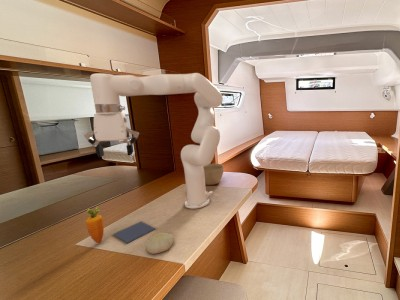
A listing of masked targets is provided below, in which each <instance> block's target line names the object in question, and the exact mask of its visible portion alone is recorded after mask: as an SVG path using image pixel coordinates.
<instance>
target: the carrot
mask: <svg viewBox="0 0 400 300" xmlns="http://www.w3.org/2000/svg"><path fill="white" fill-rule="evenodd" d="M86 212H87V213H88V217H87V219H85V226H86V229H87V231H88V233H89V236H90V238H91V239H92V240H93V242H94V243H96V244H99V245H100V244H101V243H102V241H103V238H104V233H105V231H104V230H105V226H104V219H103V218H104V217H103V215H102V214H98V213H99V212H100V209H99V206H95V209H94V211H93V210H92V209H91V208H88V209H86Z"/></svg>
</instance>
